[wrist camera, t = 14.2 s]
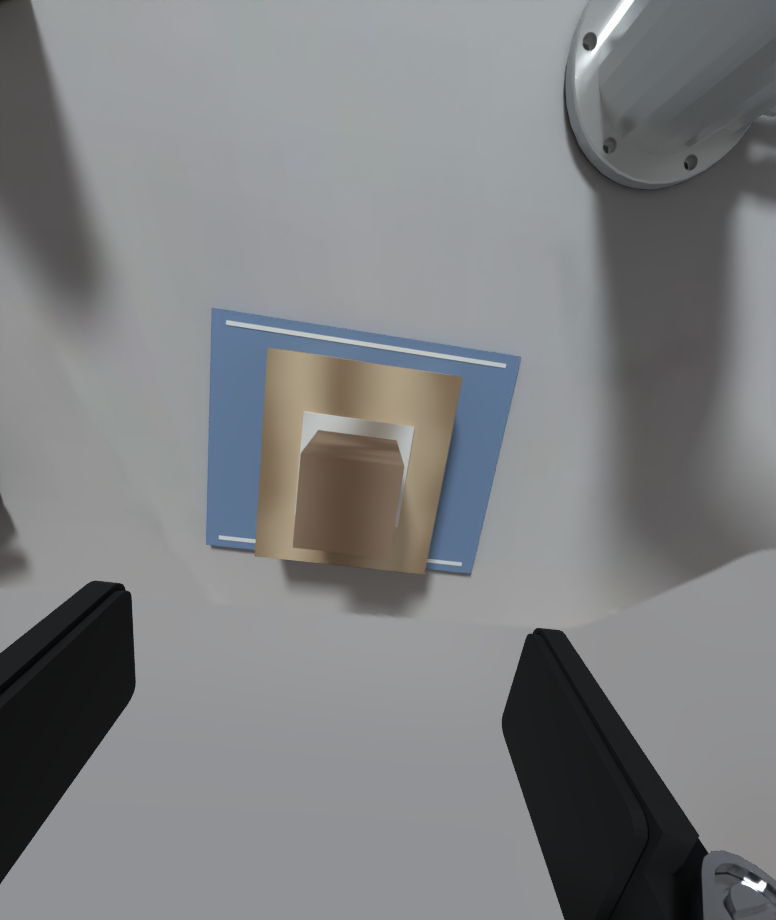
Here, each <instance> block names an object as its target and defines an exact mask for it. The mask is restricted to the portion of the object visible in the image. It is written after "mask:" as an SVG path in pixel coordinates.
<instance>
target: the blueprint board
mask: <svg viewBox="0 0 776 920" xmlns="http://www.w3.org/2000/svg"><path fill="white" fill-rule="evenodd" d="M267 348H276V349H285V350H291V351H298V352H305V353H311V354H318V355H324V356H331V357H337V358H344V359H350V360H357V361H364V362H370V363H377V364H383V365H390V366H396V367H403V368H410V369H416V370H423V371H429V372H436V373H442V374H449V375H454V376H459V377H463V379H462V384H461V389H460V394H459V399H458V404H457V410H456V415H455V420H454V425H453V430H452V435H451V440H450V446H449V451H448V456H447V461H446V466H445V471H444V476H443V481H442V487H441V492H440V497H439V502H438V507H437V512H436V517H435V522H434V528H433V533H432V538H431V543H430V548H429V553H428V558H427V563H426V569H432V570H441V571H451V572H460V573H469V574H471V572H472V568H473V564H474V559H475V555H476V551H477V546H478V542H479V538H480V533H481V529H482V525H483V520H484V516H485V512H486V508H487V503H488V499H489V495H490V490H491V486H492V482H493V477H494V473H495V469H496V464H497V460H498V456H499V451H500V447H501V443H502V438H503V434H504V430H505V425H506V421H507V417H508V412H509V408H510V404H511V400H512V395H513V391H514V387H515V382H516V378H517V374H518V369H519V365H520V361H521V357H519V356H513V355H506V354H500V353H494V352H487V351H481V350H475V349H468V348H462V347H456V346H450V345H443V344H437V343H431V342H424V341H418V340H412V339H405V338H399V337H393V336H386V335H380V334H374V333H368V332H361V331H355V330H349V329H342V328H336V327H330V326H323V325H317V324H311V323H304V322H298V321H292V320H286V319H279V318H273V317H267V316H260V315H254V314H248V313H241V312H235V311H229V310H222V309H216V308H212V321H211V362H210V404H209V445H208V487H207V529H206V545H214V546H223V547H232V548H241V549H250V550H255V542H256V526H257V509H258V493H259V477H260V461H261V444H262V428H263V412H264V396H265V379H266V363H267Z"/></svg>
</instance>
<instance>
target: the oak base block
mask: <svg viewBox="0 0 776 920" xmlns="http://www.w3.org/2000/svg"><path fill="white" fill-rule="evenodd" d="M462 379H463V377H459V376H454V375H449V374H442V373H436V372H429V371H423V370H416V369H410V368H403V367H396V366H390V365H383V364H377V363H370V362H364V361H357V360H350V359H344V358H337V357H331V356H324V355H318V354H311V353H305V352H298V351H291V350H285V349H276V348H267V363H266V379H265V396H264V412H263V428H262V444H261V461H260V477H259V493H258V509H257V526H256V542H255V556H258V557H267V558H277V559H286V560H295V561H304V562H313V563H323V564H332V565H341V566H350V567H359V568H369V569H378V570H387V571H396V572H406V573H415V574H425V569H426V563H427V558H428V553H429V548H430V543H431V538H432V533H433V528H434V522H435V517H436V512H437V507H438V502H439V497H440V492H441V487H442V481H443V476H444V471H445V466H446V461H447V456H448V451H449V446H450V440H451V435H452V430H453V425H454V420H455V415H456V410H457V404H458V399H459V394H460V389H461V384H462ZM318 430H323V431H330V432H338V433H345V434H353V435H360V436H368V437H376V438H383V439H391V440H397V443H398V447H399V450H400V453H401V456H402V460H403V463H404V473H403V479H402V485H401V491H400V497H399V504H398V510H397V516H396V522H395V528H394V535H393V541H392V547H391V553H390V558H384V557H375V556H365V555H356V554H347V553H337V552H328V551H319V550H310V549H300V548H293V537H294V525H295V513H296V502H297V490H298V479H299V467H300V455H301V452H302V451H303V449H304V448H305V447H306V446H307V444H308V443H309V442H310V440H311V439H312V438H313V436H314V435H315V434H316V432H317V431H318Z"/></svg>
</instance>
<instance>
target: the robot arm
mask: <svg viewBox="0 0 776 920" xmlns="http://www.w3.org/2000/svg"><path fill="white" fill-rule="evenodd" d="M565 84H566V104H567V109H568V114H569V118H570V123H571V127H572V129H573V132H574V134H575V137H576V139H577V142H578V144H579V146H580V147H581V149H582V150H583V152H584V154H585V155H586V157H587V158H588V160H589V161H590V162H591V163H592V164H593V165H594V166H595V167H596V168H597V169H598V170H599V171H600V172H601V173H602V174H604V175H605V176H607V177H608V178H610V179H612V180H613V181H615V182H617V183H619V184H622V185H625V186H628V187H631V188H637V189H650V190H651V189H658V188H665V187H670V186H672V185H675V184H678V183H681V182H683V181H686V180H688V179H690V178H691V177H693V176H695V175H697V174H699V173H701V172H702V171H704V170H706V169H707V168H709V167H710V166H711V165H713V164H714V163H716V162H717V161H718V160H720V159H721V158H722V157H723V156H724V155H725V154H726V153H727V152H728V151H729V150H730V149H731V148H732V147H733V146H734V145H735V144H736V143H737V142H738V141H739V140H740V139H741V137H742V136H743V134H744V133H745V132H746V130H747V129H748V128H749V126H750V125H751V124H752V122H753V120H754V119H756V118H758V117H759V116H761V115H767V116H771V117H773V116H776V0H589V2H588V3H587V5H586V7H585V9H584V11H583V13H582V15H581V18H580V20H579V22H578V25H577V27H576V30H575V32H574V35H573V39H572V43H571V47H570V51H569V55H568V61H567V70H566V80H565ZM133 640H134V639H133V618H132V598H131V593H130V592H129V591H125V587H124V585H123V584H120V583H112V582H103V581H91V582H90V583H88V584H87V585H85V586H84V587H83V588H82V589H80V590H79V591H78V592H77V593H75V594H74V595H73V596H72V597H70V598H69V599H68V600H67V601H65V602H64V603H63V604H62V605H60V606H59V607H58V608H57V609H55V610H54V611H53V612H52V613H50V614H49V615H48V616H47V617H46V618H44V619H43V620H41V621H40V622H39V623H38V624H37V625H35V626H34V627H33V628H31V629H30V630H29V631H28V632H27V633H25V634H24V635H23V636H21V637H20V638H19V639H18V640H16V641H15V642H14V643H13V644H11V645H10V646H9V647H8V648H7V649H5V650H4V651H3V652H1V653H0V883H1V882H2V881H3V879H4V878H5V876H6V875H7V874H8V872H9V871H10V869H11V868H12V866H13V865H14V864H15V862H16V861H17V859H18V858H19V857H20V855H21V854H22V852H23V851H24V850H25V848H26V847H27V845H28V844H29V843H30V841H31V840H32V838H33V837H34V836H35V834H36V833H37V831H38V830H39V828H40V827H41V825H42V824H43V822H44V821H45V820H46V819H47V817H48V816H49V814H50V813H51V812H52V810H53V809H54V807H55V806H56V805H57V803H58V802H59V800H60V799H61V797H62V796H63V795H64V793H65V792H66V790H67V789H68V788H69V786H70V785H71V783H72V782H73V780H74V779H75V778H76V776H77V775H78V773H79V772H80V770H81V769H82V768H83V766H84V765H85V763H86V762H87V761H88V759H89V758H90V757H91V755H92V754H93V752H94V751H95V749H96V748H97V747H98V745H99V744H100V742H101V741H102V740H103V738H104V737H105V735H106V734H107V733H108V731H109V730H110V728H111V727H112V726H113V724H114V722H115V721H116V720H117V718H118V717H119V716H120V714H121V713H122V711H123V710H124V709H125V707H126V706H127V704H128V703H129V701H130V700H131V698H132V695H133V693H134V690H135V683H136V681H135V660H134V641H133ZM502 730H503V734H504V738H505V741H506V744H507V747H508V750H509V753H510V756H511V759H512V762H513V765H514V768H515V771H516V774H517V777H518V780H519V783H520V786H521V789H522V792H523V795H524V798H525V802H526V805H527V808H528V811H529V813H530V816H531V820H532V823H533V826H534V829H535V831H536V835H537V838H538V841H539V844H540V847H541V850H542V853H543V856H544V859H545V862H546V865H547V868H548V871H549V874H550V877H551V880H552V883H553V886H554V889H555V892H556V895H557V898H558V901H559V904H560V907H561V910H562V913H563V916H564V919H565V920H776V880H775V879H773V878H772V877H771V876H769V875H768V874H767V873H765V872H764V871H763V870H762V869H760V868H759V867H758V866H756V865H754V864H753V863H751V862H749V861H747V860H746V859H744V858H742V857H740V856H738V855H735V854H732V853H729V852H726V851H711V852H710V853H709V854H708V852H707V850H706V849H705V848H704V846H703V844H702V843H701V842H700V840H699V838H698V837H699V835H698V833H697V832H696V830H695V829H694V827H693V826H692V824H691V823H690V821H689V820H688V818H687V817H686V815H685V814H684V812H683V811H682V809H681V808H680V806H679V805H678V803H677V802H676V800H675V799H674V797H673V796H672V794H671V793H670V791H669V790H668V788H667V787H666V785H665V784H664V782H663V781H662V779H661V778H660V776H659V775H658V773H657V772H656V770H655V769H654V767H653V766H652V764H651V763H650V761H649V760H648V758H647V757H646V755H645V754H644V752H643V751H642V749H641V748H640V746H639V745H638V743H637V742H636V740H635V739H634V737H633V736H632V734H631V733H630V731H629V730H628V728H627V727H626V725H625V724H624V722H623V721H622V719H621V718H620V716H619V715H618V713H617V712H616V710H615V709H614V707H613V706H612V704H611V703H610V701H609V700H608V698H607V697H606V695H605V694H604V692H603V691H602V689H601V688H600V686H599V685H598V683H597V682H596V680H595V679H594V677H593V676H592V674H591V673H590V671H589V670H588V668H587V667H586V666H585V664H584V662H583V661H582V659H581V658H580V656H579V655H578V653H577V652H576V650H575V649H574V647H573V646H572V644H571V643H570V641H569V640H568V638H567V637H566V635H565V634H564V633H563V632H562V631H560V630H552V629H543V628H536V629H535V630H534V632H533V634H528V635H527V637H526V640H525V643H524V647H523V650H522V653H521V657H520V660H519V663H518V666H517V670H516V673H515V676H514V680H513V683H512V686H511V690H510V693H509V696H508V700H507V703H506V706H505V710H504V713H503V717H502Z"/></svg>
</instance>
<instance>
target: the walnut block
mask: <svg viewBox="0 0 776 920" xmlns="http://www.w3.org/2000/svg"><path fill="white" fill-rule="evenodd" d="M403 473H404V463H403V460H402V456H401V453H400V450H399V447H398V443H397V440H391V439H383V438H376V437H368V436H360V435H353V434H345V433H338V432H330V431H323V430H318V431H317V432H316V434H315V435H314V436H313V438H312V439H311V440H310V442H309V443H308V444H307V446H306V447H305V448H304V449H303V451H302V452H301V455H300V467H299V479H298V490H297V502H296V513H295V525H294V537H293V548H300V549H310V550H319V551H328V552H337V553H347V554H356V555H365V556H375V557H384V558H390V553H391V547H392V541H393V535H394V528H395V522H396V516H397V510H398V504H399V497H400V491H401V485H402V479H403Z"/></svg>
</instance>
